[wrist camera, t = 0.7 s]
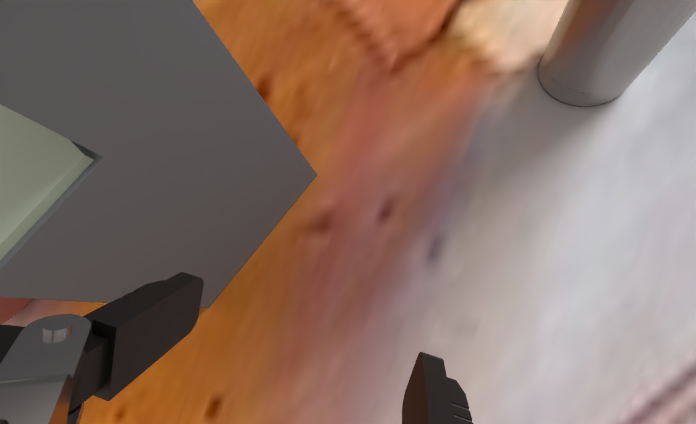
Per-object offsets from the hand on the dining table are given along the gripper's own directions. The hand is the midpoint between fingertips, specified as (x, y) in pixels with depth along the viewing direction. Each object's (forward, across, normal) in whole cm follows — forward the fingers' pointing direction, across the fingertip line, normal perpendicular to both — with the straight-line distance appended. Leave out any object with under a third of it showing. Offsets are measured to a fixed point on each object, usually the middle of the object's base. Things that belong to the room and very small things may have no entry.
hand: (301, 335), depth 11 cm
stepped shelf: (+27, +17, +6) cm, 32 cm away
